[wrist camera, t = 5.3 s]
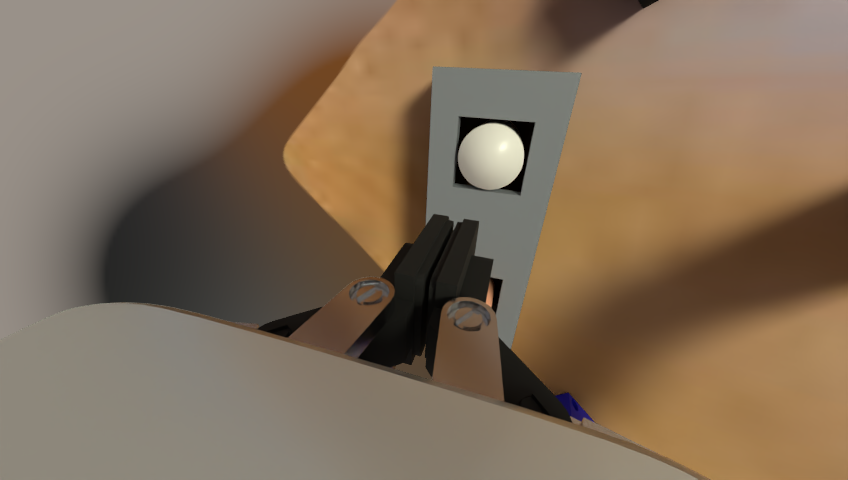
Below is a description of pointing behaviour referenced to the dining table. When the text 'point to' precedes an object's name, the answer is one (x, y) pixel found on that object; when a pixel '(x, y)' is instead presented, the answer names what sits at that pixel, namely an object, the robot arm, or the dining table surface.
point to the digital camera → (646, 2)
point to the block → (500, 209)
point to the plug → (491, 154)
